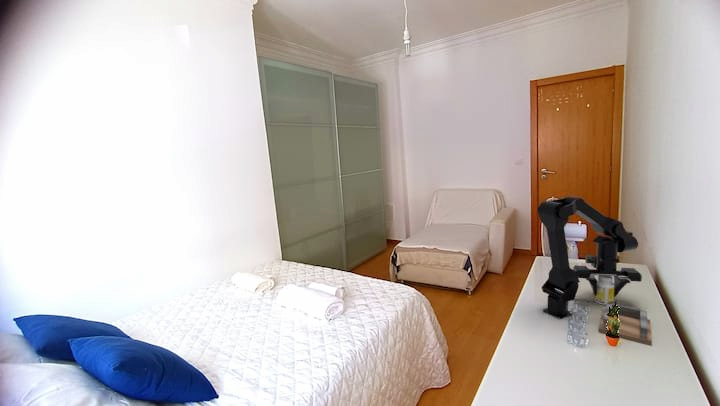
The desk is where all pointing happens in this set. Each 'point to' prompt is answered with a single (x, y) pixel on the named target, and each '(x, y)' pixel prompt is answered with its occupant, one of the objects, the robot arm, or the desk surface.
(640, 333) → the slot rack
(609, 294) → the supplement bottle
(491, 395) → the desk surface
